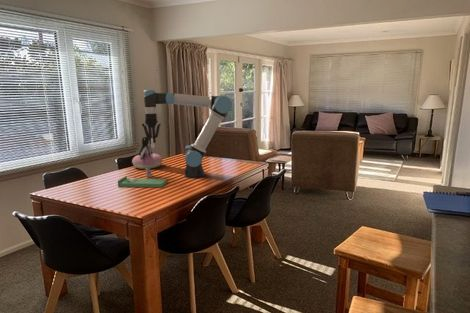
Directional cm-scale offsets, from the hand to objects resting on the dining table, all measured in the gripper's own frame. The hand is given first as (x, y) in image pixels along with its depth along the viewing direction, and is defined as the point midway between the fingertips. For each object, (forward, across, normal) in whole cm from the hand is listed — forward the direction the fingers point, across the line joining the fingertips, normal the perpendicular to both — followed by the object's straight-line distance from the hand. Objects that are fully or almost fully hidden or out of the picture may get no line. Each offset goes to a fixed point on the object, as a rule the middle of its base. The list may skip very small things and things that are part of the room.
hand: (153, 147), depth 226 cm
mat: (+24, +6, +7) cm, 26 cm away
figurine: (+25, +10, -14) cm, 30 cm away
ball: (+22, +13, +7) cm, 27 cm away
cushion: (+25, +22, -46) cm, 57 cm away
